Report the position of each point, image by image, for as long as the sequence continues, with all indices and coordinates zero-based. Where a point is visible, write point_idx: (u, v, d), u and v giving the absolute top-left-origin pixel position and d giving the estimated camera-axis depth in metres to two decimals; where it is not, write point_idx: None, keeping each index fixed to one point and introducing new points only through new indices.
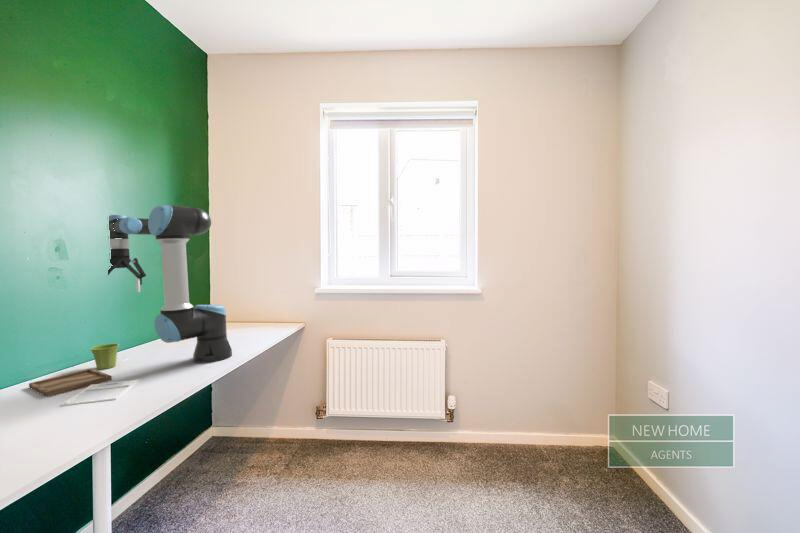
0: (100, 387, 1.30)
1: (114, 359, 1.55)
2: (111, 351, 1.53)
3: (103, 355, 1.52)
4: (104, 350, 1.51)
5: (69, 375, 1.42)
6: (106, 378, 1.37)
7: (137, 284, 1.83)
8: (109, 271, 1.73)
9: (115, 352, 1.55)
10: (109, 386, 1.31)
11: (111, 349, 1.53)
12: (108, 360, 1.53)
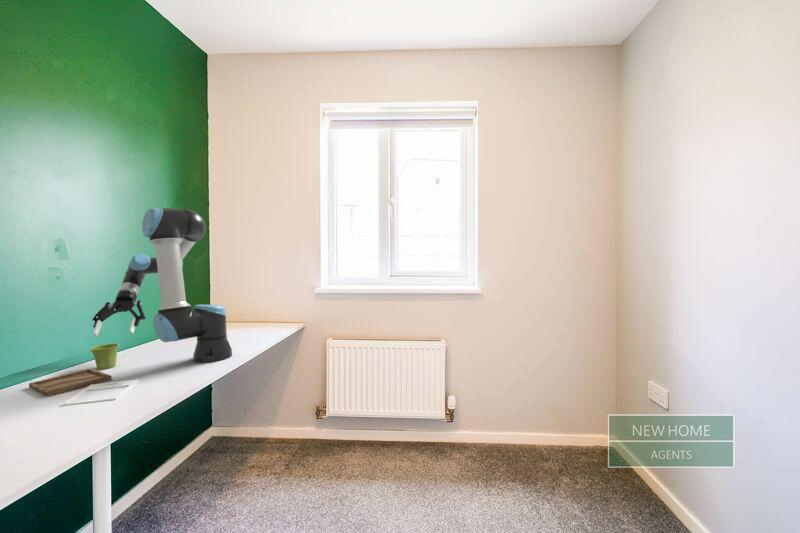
0: (100, 387, 1.30)
1: (114, 359, 1.55)
2: (111, 351, 1.53)
3: (103, 355, 1.52)
4: (104, 350, 1.51)
5: (69, 375, 1.42)
6: (106, 378, 1.37)
7: None
8: (107, 312, 1.67)
9: (115, 352, 1.55)
10: (109, 386, 1.31)
11: (111, 349, 1.53)
12: (108, 360, 1.53)
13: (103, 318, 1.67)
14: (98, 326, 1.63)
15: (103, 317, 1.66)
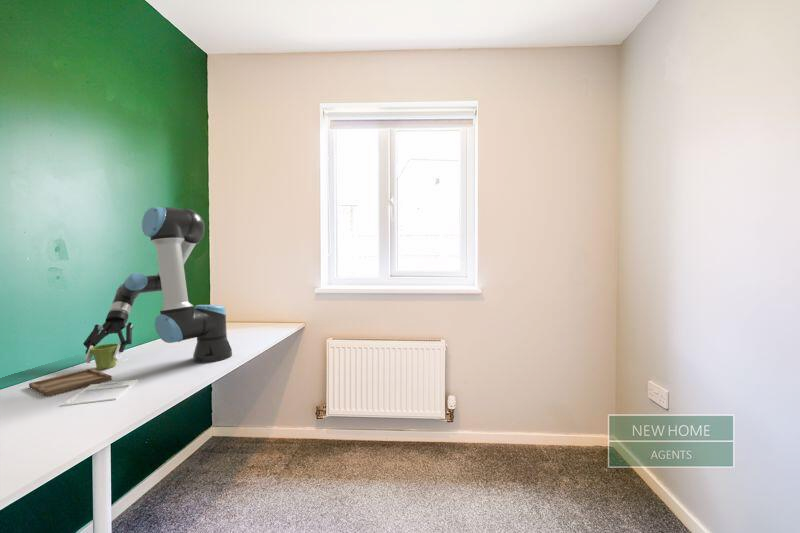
0: (100, 387, 1.30)
1: (114, 359, 1.55)
2: (111, 351, 1.53)
3: (103, 355, 1.52)
4: (104, 350, 1.51)
5: (69, 375, 1.42)
6: (106, 378, 1.37)
7: None
8: (98, 335, 1.57)
9: None
10: (109, 386, 1.31)
11: (111, 349, 1.53)
12: (108, 359, 1.53)
13: (95, 342, 1.56)
14: (90, 352, 1.53)
15: (95, 341, 1.56)
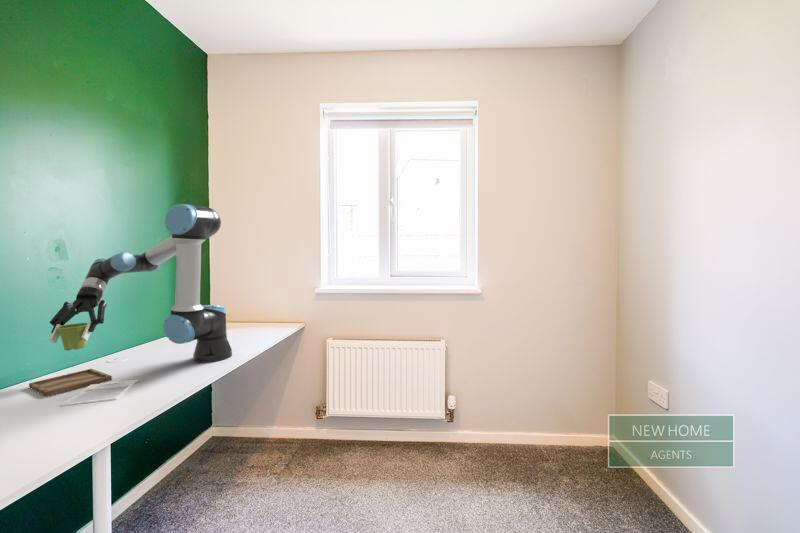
0: (100, 387, 1.30)
1: None
2: (80, 331, 1.39)
3: (71, 334, 1.37)
4: (71, 329, 1.37)
5: (69, 375, 1.42)
6: (106, 378, 1.37)
7: None
8: (67, 313, 1.43)
9: None
10: (109, 386, 1.31)
11: (79, 328, 1.38)
12: (76, 340, 1.38)
13: (64, 321, 1.42)
14: (57, 331, 1.38)
15: (63, 320, 1.42)
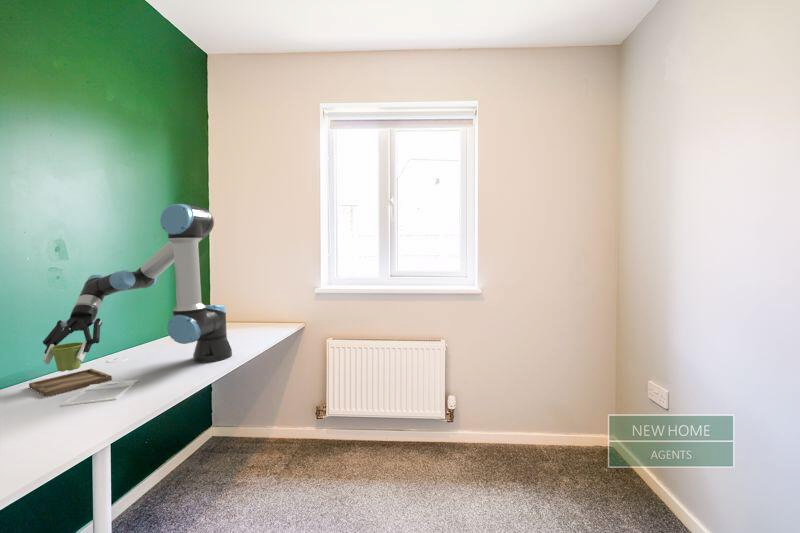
0: (100, 387, 1.30)
1: (78, 360, 1.36)
2: (75, 351, 1.34)
3: (65, 355, 1.32)
4: (66, 350, 1.32)
5: (69, 375, 1.42)
6: (106, 378, 1.37)
7: None
8: (61, 333, 1.38)
9: None
10: (109, 386, 1.31)
11: (74, 349, 1.34)
12: (70, 361, 1.33)
13: (57, 341, 1.37)
14: (50, 352, 1.34)
15: (57, 339, 1.37)
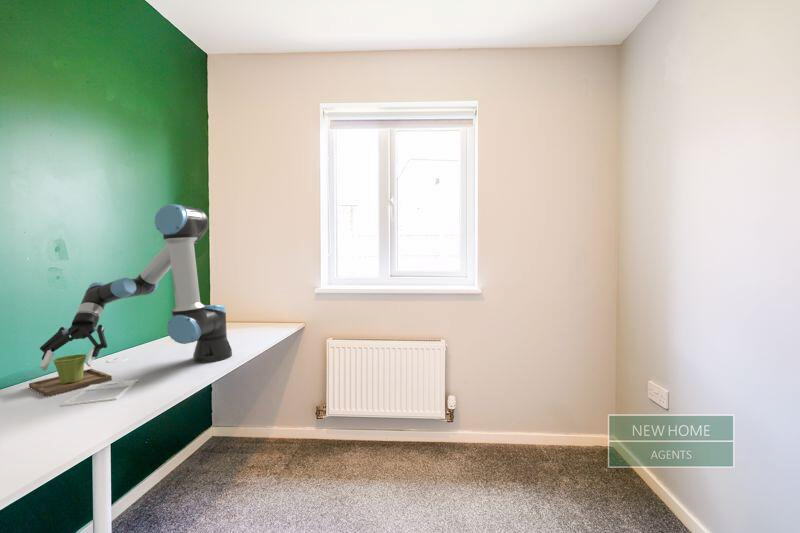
0: (100, 387, 1.30)
1: (80, 371, 1.36)
2: (77, 363, 1.35)
3: (67, 367, 1.33)
4: (69, 361, 1.33)
5: None
6: (106, 378, 1.37)
7: None
8: (60, 340, 1.38)
9: (82, 364, 1.37)
10: (109, 386, 1.31)
11: (77, 360, 1.34)
12: (73, 372, 1.34)
13: (55, 347, 1.37)
14: (48, 358, 1.34)
15: (55, 346, 1.37)
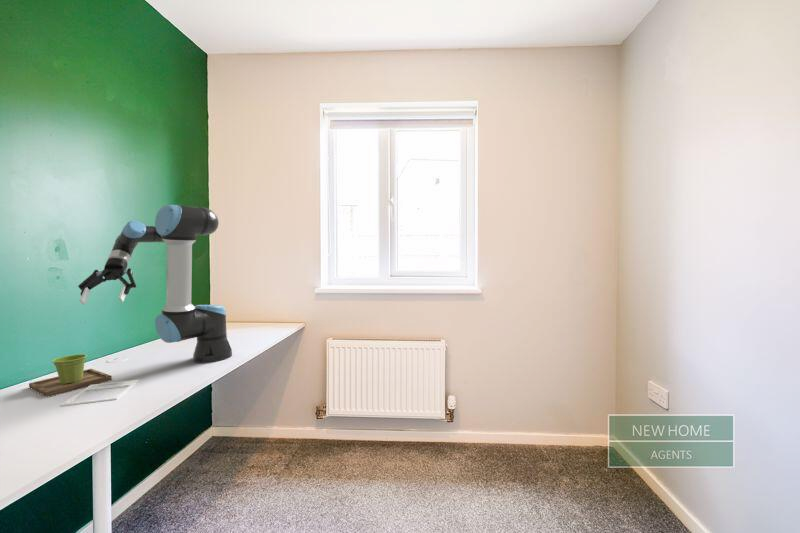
0: (100, 387, 1.30)
1: (80, 372, 1.36)
2: (77, 364, 1.35)
3: (68, 368, 1.33)
4: (69, 362, 1.32)
5: None
6: (106, 378, 1.37)
7: None
8: (95, 279, 1.57)
9: (82, 364, 1.36)
10: (109, 386, 1.31)
11: (77, 361, 1.34)
12: (73, 373, 1.34)
13: (91, 286, 1.56)
14: (85, 294, 1.53)
15: (91, 285, 1.56)
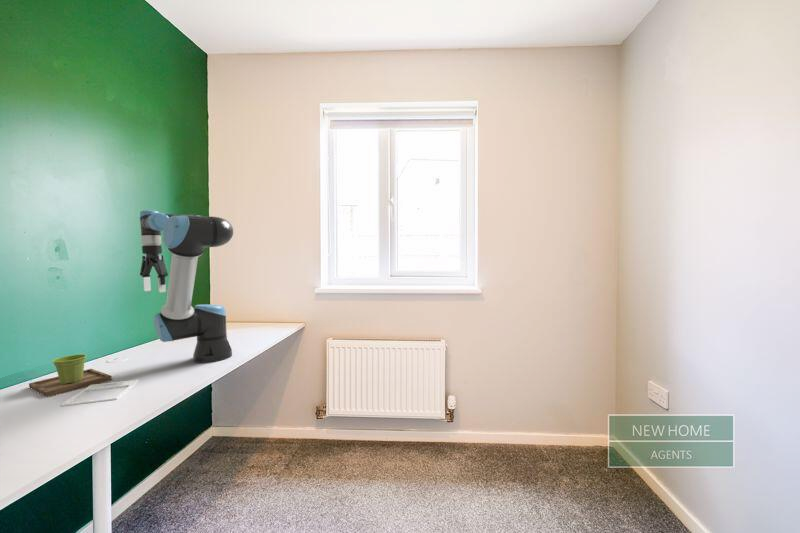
0: (100, 387, 1.30)
1: (80, 372, 1.36)
2: (77, 364, 1.35)
3: (67, 368, 1.33)
4: (69, 362, 1.32)
5: None
6: (106, 378, 1.37)
7: None
8: (145, 268, 1.74)
9: (82, 364, 1.36)
10: (109, 386, 1.31)
11: (77, 361, 1.34)
12: (73, 373, 1.34)
13: (147, 273, 1.75)
14: (146, 283, 1.75)
15: (145, 273, 1.75)
